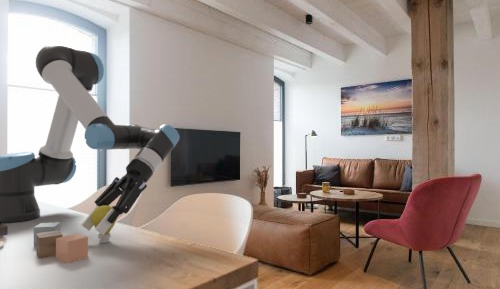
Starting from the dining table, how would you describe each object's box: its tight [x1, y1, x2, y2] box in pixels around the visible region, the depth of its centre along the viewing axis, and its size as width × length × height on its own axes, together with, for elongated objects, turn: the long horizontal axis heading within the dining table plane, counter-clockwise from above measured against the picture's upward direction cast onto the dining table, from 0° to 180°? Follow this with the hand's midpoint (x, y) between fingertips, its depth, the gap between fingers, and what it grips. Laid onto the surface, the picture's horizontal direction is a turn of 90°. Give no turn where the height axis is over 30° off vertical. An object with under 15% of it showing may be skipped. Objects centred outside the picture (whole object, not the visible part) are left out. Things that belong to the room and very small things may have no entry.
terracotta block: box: [55, 233, 89, 264], centre depth 83 cm, size 5×5×5 cm
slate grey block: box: [33, 221, 61, 247], centre depth 96 cm, size 5×5×5 cm
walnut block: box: [35, 230, 63, 259], centre depth 86 cm, size 5×5×5 cm
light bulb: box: [91, 205, 118, 244], centre depth 97 cm, size 7×7×10 cm
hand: (92, 229), depth 94 cm, fingers closed on light bulb, 7 cm apart
